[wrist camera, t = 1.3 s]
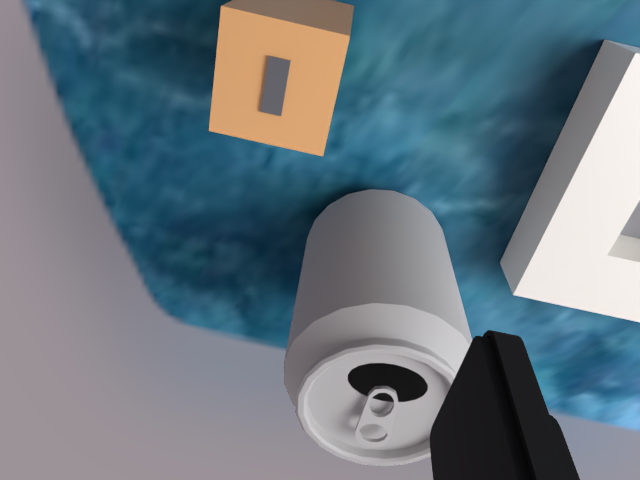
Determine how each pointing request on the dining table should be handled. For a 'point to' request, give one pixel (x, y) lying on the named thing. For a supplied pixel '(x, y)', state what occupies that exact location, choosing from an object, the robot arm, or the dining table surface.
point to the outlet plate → (588, 200)
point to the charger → (279, 70)
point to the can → (374, 329)
